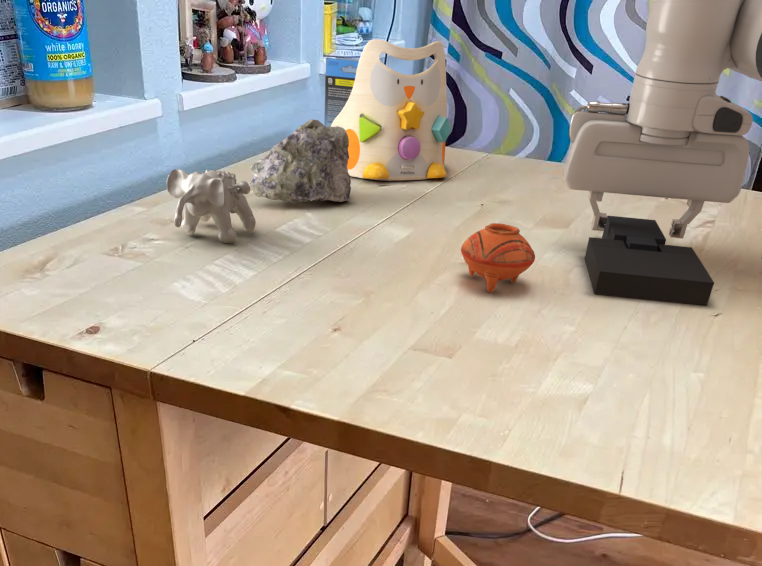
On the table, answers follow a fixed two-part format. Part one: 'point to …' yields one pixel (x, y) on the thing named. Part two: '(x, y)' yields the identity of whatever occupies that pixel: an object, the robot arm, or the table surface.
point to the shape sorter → (397, 116)
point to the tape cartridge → (337, 87)
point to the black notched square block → (647, 272)
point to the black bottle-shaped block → (634, 232)
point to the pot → (497, 254)
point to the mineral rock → (305, 166)
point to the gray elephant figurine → (210, 201)
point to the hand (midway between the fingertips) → (636, 233)
